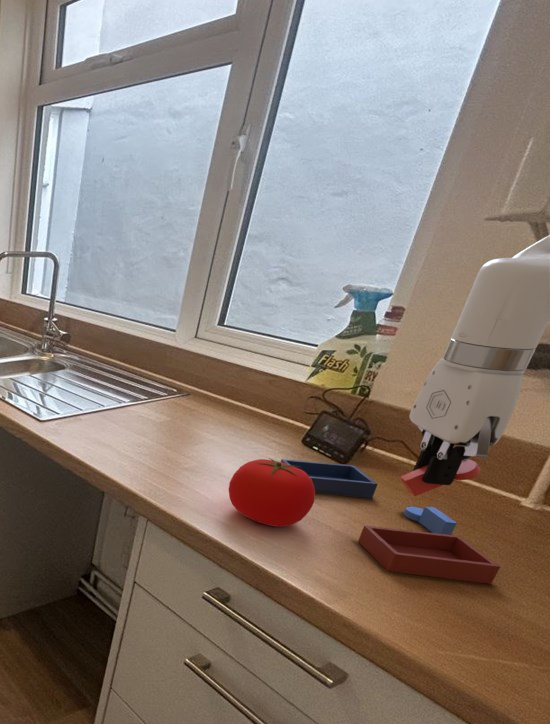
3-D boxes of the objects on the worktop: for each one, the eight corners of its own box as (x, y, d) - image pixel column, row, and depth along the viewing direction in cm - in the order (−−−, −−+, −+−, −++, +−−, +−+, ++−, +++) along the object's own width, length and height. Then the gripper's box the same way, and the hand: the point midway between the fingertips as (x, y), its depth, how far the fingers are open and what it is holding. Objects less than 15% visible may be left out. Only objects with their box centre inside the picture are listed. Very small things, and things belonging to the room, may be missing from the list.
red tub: (451, 552, 81) (459, 535, 80) (491, 584, 74) (500, 566, 73) (357, 541, 84) (364, 525, 82) (388, 571, 77) (395, 554, 76)
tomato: (312, 519, 90) (332, 464, 86) (289, 546, 83) (310, 487, 79) (238, 494, 98) (253, 442, 94) (211, 516, 91) (226, 462, 87)
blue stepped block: (456, 539, 84) (464, 523, 83) (432, 537, 84) (439, 521, 83) (420, 513, 91) (427, 498, 90) (398, 511, 92) (405, 496, 91)
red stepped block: (419, 499, 76) (409, 484, 76) (405, 488, 79) (395, 474, 79) (487, 472, 73) (477, 456, 72) (469, 462, 75) (459, 446, 75)
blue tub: (348, 479, 103) (353, 465, 102) (372, 498, 96) (378, 483, 95) (277, 472, 106) (281, 459, 104) (295, 490, 99) (299, 476, 98)
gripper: (412, 341, 77) (368, 454, 84) (497, 370, 63) (436, 503, 70) (475, 344, 75) (425, 459, 82) (578, 375, 61) (507, 510, 68)
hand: (430, 479), depth 76 cm, fingers closed on red stepped block, 1 cm apart
